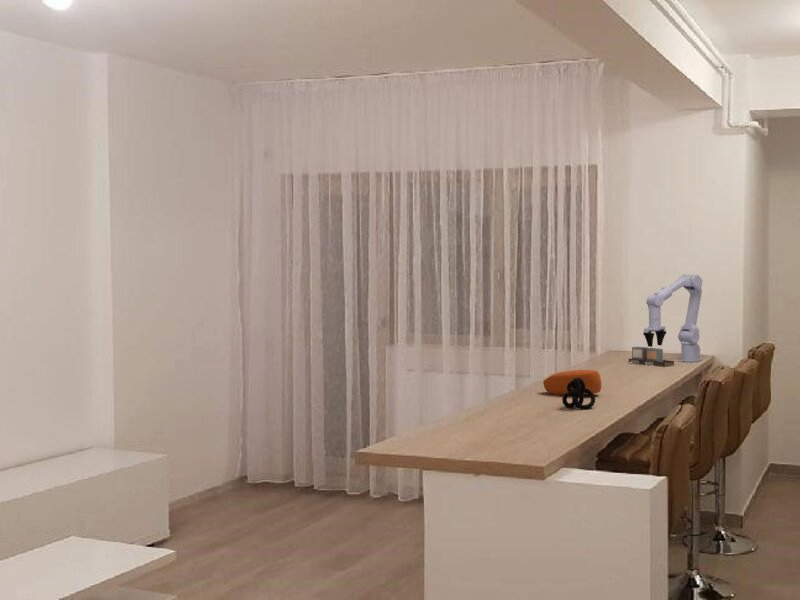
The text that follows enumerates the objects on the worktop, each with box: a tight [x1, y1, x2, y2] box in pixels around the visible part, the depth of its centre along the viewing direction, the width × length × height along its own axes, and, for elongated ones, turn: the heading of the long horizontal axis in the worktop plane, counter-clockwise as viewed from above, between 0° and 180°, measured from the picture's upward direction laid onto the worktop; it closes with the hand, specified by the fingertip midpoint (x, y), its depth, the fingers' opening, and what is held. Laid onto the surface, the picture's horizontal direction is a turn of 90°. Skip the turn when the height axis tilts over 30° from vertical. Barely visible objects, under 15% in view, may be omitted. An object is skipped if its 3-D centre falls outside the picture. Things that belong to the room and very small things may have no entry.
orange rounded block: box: [542, 369, 602, 396], centre depth 455 cm, size 12×11×25 cm
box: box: [631, 346, 649, 360], centre depth 549 cm, size 4×7×7 cm, turn 39°
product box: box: [646, 347, 664, 362], centre depth 542 cm, size 4×7×7 cm, turn 38°
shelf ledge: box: [628, 358, 675, 368], centre depth 544 cm, size 8×22×2 cm, turn 38°
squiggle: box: [561, 377, 596, 410], centre depth 424 cm, size 11×10×15 cm
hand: (654, 345), depth 542 cm, fingers open, 7 cm apart
